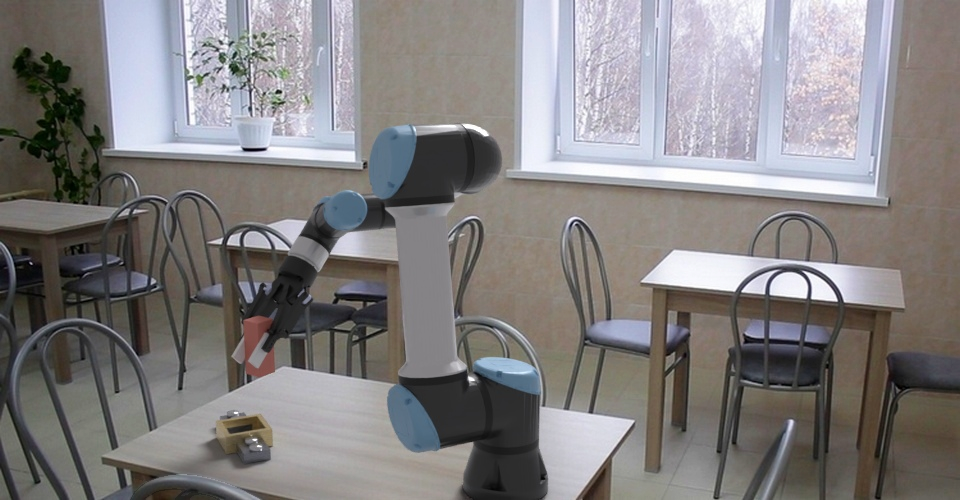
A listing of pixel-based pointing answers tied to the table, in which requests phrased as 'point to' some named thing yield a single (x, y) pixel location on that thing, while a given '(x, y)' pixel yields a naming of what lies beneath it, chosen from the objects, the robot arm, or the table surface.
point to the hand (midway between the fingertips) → (244, 362)
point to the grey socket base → (245, 436)
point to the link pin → (252, 336)
